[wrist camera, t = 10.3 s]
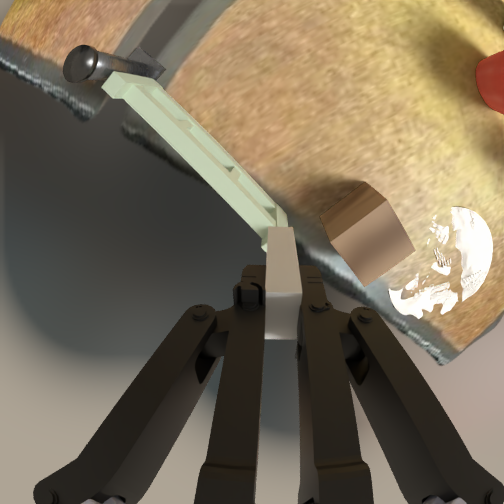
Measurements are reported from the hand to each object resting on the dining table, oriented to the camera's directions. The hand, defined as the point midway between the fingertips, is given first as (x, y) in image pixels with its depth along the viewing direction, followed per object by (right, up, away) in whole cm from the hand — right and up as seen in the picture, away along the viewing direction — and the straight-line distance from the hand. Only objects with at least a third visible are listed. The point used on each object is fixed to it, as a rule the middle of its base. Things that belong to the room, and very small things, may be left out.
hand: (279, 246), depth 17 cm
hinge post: (-15, +20, +7) cm, 26 cm away
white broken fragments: (+28, -3, +17) cm, 33 cm away
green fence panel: (-6, +11, +11) cm, 16 cm away
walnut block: (+11, +4, +15) cm, 19 cm away
